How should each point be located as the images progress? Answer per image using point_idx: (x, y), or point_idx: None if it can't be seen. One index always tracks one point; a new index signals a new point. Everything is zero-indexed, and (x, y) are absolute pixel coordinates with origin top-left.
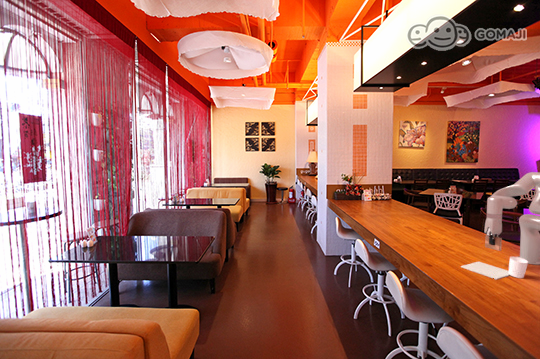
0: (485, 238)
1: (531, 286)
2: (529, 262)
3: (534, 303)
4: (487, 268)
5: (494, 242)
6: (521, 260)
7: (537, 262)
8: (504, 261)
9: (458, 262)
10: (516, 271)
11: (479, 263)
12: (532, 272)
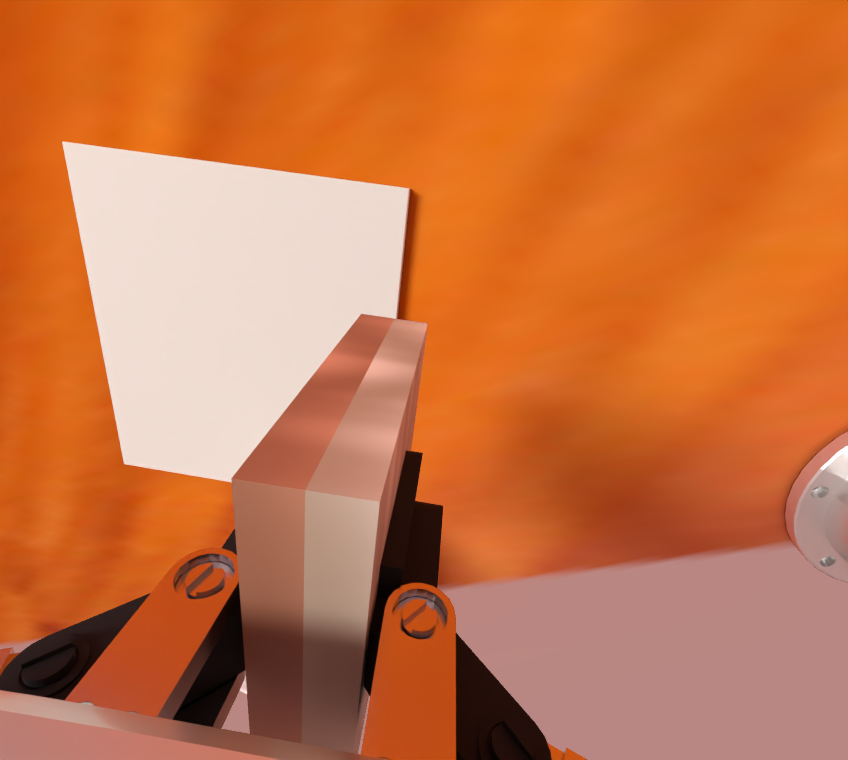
0: (294, 403)
1: None
2: (794, 523)
3: (40, 637)
4: (271, 343)
5: None
6: None
7: (839, 565)
8: (696, 351)
9: (179, 22)
10: None
11: (346, 228)
12: (532, 563)
